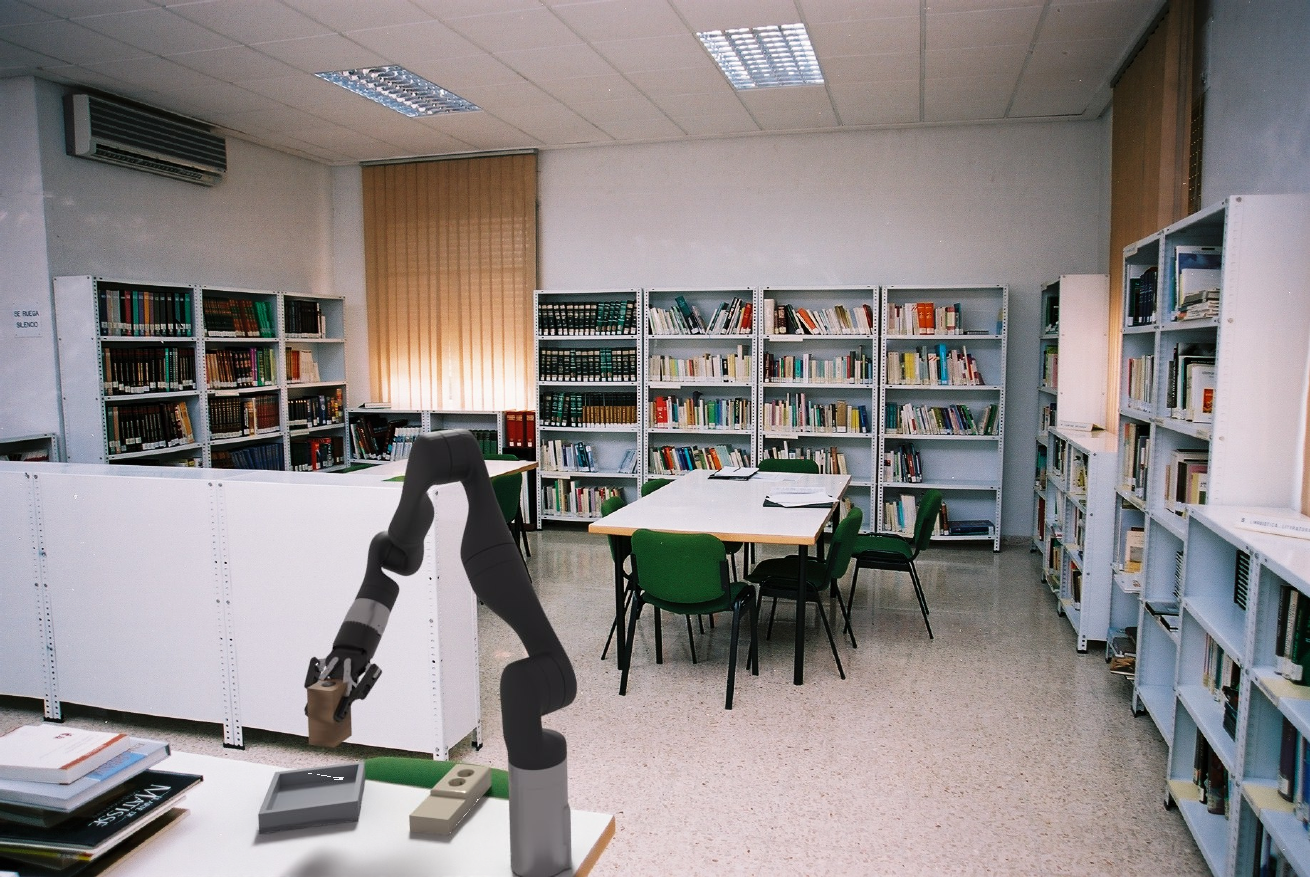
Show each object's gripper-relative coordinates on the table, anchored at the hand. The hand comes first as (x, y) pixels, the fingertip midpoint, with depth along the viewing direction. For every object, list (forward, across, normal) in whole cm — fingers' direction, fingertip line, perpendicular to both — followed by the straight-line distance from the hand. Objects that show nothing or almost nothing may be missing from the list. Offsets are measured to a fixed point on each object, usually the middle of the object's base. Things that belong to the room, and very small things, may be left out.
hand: (323, 718), depth 145 cm
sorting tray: (+10, -6, +17) cm, 21 cm away
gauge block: (+2, 0, +5) cm, 5 cm away
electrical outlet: (+6, +19, +21) cm, 29 cm away
